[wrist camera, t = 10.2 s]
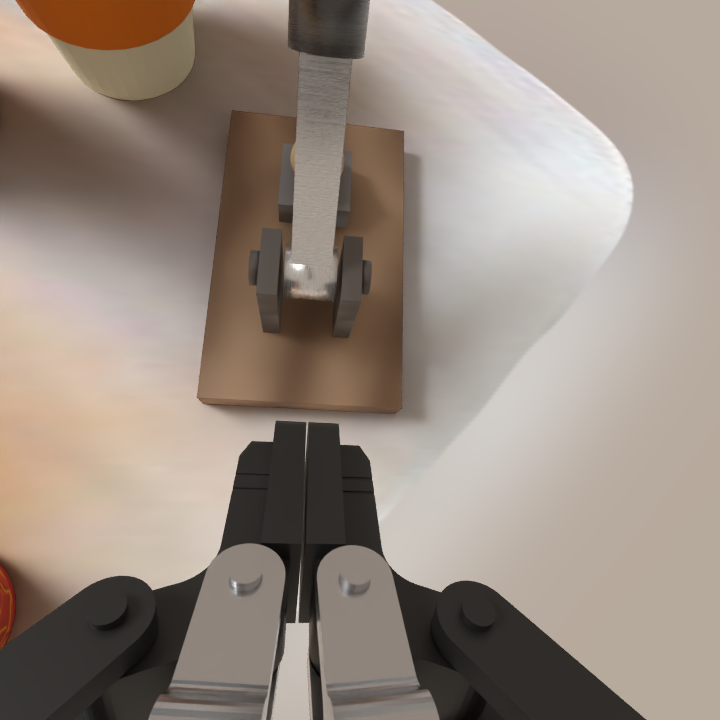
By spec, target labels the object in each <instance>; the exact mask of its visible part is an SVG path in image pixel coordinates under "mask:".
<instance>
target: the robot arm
mask: <svg viewBox="0 0 720 720" xmlns="http://www.w3.org/2000/svg"><path fill="white" fill-rule="evenodd" d="M305 441H306V422H291V421H276V424H275V432H274V440H273V442H258V441H252V442H251V443H250V444H249V445H248V446H247V448H246V449H245V450H244V451H243V452H242V453H241V455H240V456H239V461H238V466H237V471H236V476H235V480H234V485H233V491H232V495H231V499H230V504H229V509H228V514H227V519H226V523H225V528H224V533H223V538H222V543H221V547H220V550H219V552H218V554H217V556H216V557H215V558H214V560H213V561H212V562H211V564H210V565H209V566H208V567H207V568H206V569H205V570H204V571H202V572H201V573H200V574H198V575H196V576H195V577H193V578H191V579H189V580H187V581H184V582H181V583H178V584H174V585H170V586H167V587H163V588H160V589H156V590H153V591H152V589H151V588H150V587H149V586H148V584H147V583H145V582H144V581H142V580H140V579H138V578H135V577H130V576H115V577H110V578H106V579H103V580H100V581H98V582H95V583H93V584H91V585H90V586H88V587H86V588H85V589H83V590H82V591H81V592H79V593H78V594H76V595H75V596H74V597H72V598H71V599H69V600H68V601H67V602H65V603H64V604H62V605H61V606H60V607H58V608H57V609H56V610H54V611H53V612H51V613H50V614H49V615H47V616H46V617H44V618H43V619H42V620H40V621H39V622H37V623H36V624H35V625H33V626H32V627H31V628H29V629H28V630H26V631H25V632H24V633H22V634H21V635H19V636H18V637H17V638H15V639H14V640H13V641H11V642H10V643H8V644H7V645H6V646H4V647H3V648H1V649H0V720H272V717H273V709H274V703H275V696H276V688H277V681H278V673H279V666H280V662H281V660H282V656H283V653H284V645H285V631H286V623H295V620H296V608H297V596H298V584H299V573H300V596H299V623H309V649H308V658H307V674H308V691H309V710H310V720H646V719H645V718H643V717H642V716H641V715H640V714H639V713H638V712H636V711H635V710H634V709H633V708H632V707H631V706H629V705H628V704H627V703H626V702H624V700H622V699H621V698H620V697H619V696H618V695H616V694H615V693H614V692H613V691H612V690H611V689H610V688H608V687H607V686H606V685H605V684H604V683H603V682H601V681H600V680H599V679H598V678H597V677H596V676H594V675H593V674H592V673H591V672H590V671H588V670H587V669H586V668H585V667H584V666H583V665H581V664H580V663H579V662H578V661H577V660H576V659H574V658H573V657H572V656H571V655H570V654H569V653H567V652H566V651H565V650H564V649H563V648H562V647H560V646H559V645H558V644H557V643H556V642H555V641H553V640H552V639H551V638H550V637H549V636H548V635H546V634H545V633H544V632H543V631H542V630H540V629H539V628H538V627H537V626H536V625H535V624H534V623H532V622H531V621H530V620H529V619H528V618H526V617H525V616H524V615H523V614H522V613H521V612H519V611H518V610H517V609H516V608H515V607H514V606H513V605H511V604H510V603H509V602H508V601H507V600H505V599H504V598H503V597H502V596H501V595H500V594H498V593H497V592H496V591H494V590H493V589H491V588H490V587H488V586H486V585H483V584H481V583H478V582H473V581H459V582H455V583H453V584H450V585H449V586H447V587H446V588H445V589H444V590H443V591H442V593H441V592H438V591H435V590H432V589H429V588H426V587H423V586H419V585H417V584H414V583H411V582H409V581H407V580H406V579H404V578H402V577H401V576H400V575H398V574H397V573H396V572H395V571H394V570H393V569H392V568H391V567H390V566H389V564H388V563H387V561H386V559H385V557H384V555H383V552H382V547H381V540H380V533H379V525H378V518H377V510H376V503H375V496H374V488H373V481H372V474H371V466H370V460H369V459H368V458H367V456H366V455H365V453H364V452H363V451H362V449H361V448H360V446H353V445H340V437H339V424H335V423H314V422H309V423H308V434H307V446H306V459H305ZM304 470H305V471H304ZM300 561H301V568H300Z"/></svg>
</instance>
